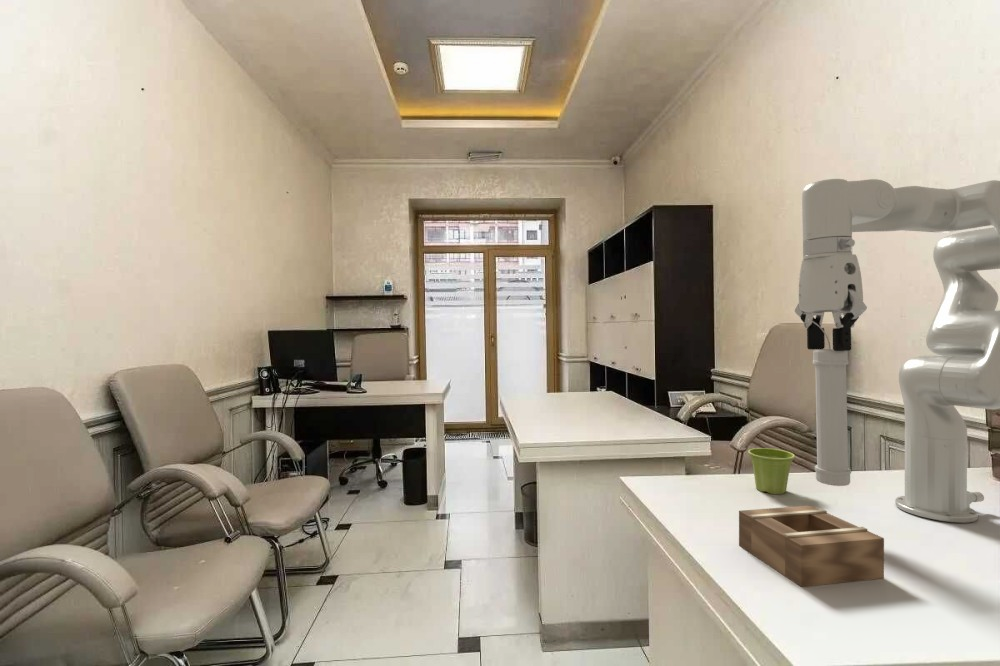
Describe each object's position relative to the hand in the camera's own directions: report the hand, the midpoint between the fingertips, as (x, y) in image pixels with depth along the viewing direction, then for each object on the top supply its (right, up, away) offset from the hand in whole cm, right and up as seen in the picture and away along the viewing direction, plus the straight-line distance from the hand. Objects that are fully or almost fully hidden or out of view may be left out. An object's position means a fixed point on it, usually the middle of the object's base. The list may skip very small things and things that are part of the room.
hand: (828, 348), depth 91 cm
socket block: (-11, -34, -11) cm, 37 cm away
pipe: (+1, -25, 0) cm, 25 cm away
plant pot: (+3, -34, +24) cm, 41 cm away
